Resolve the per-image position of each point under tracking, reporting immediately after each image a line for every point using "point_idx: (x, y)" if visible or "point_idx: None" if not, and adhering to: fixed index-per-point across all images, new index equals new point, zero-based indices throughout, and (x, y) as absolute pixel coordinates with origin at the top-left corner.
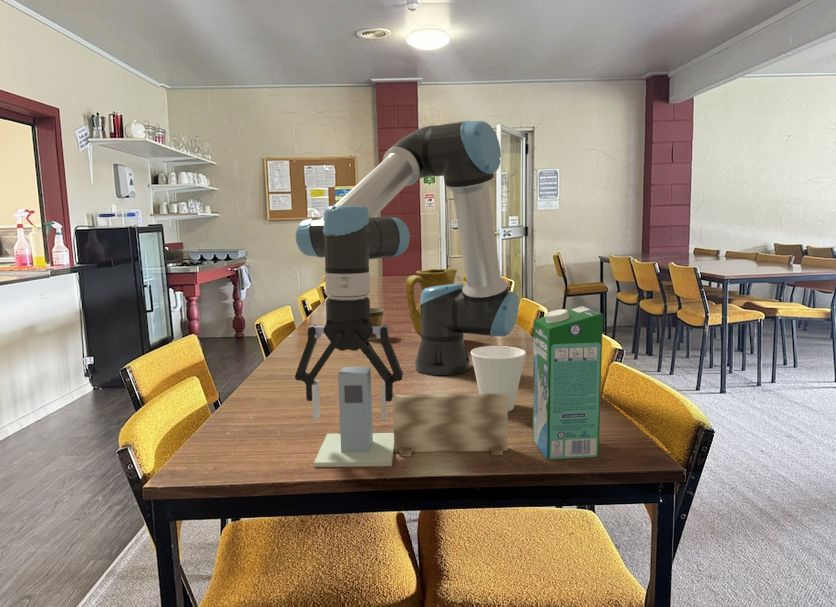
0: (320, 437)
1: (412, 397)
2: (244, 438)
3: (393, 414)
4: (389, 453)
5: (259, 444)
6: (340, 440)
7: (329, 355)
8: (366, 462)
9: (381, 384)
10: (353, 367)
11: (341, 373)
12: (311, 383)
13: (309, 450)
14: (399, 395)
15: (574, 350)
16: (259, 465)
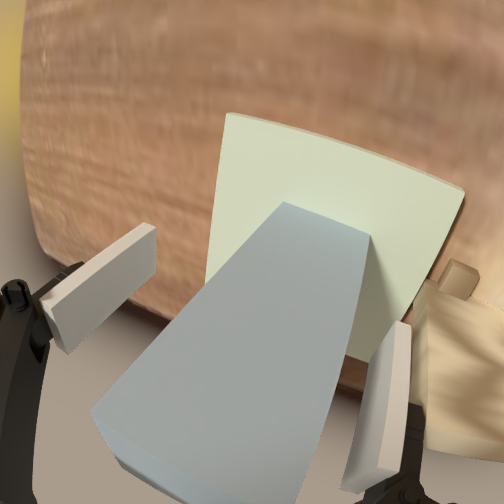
0: (213, 103)
1: (467, 456)
2: (65, 88)
3: (411, 384)
4: (385, 329)
5: (91, 126)
6: (267, 188)
7: (29, 483)
8: None
9: (346, 486)
10: (160, 465)
11: (130, 470)
12: (49, 335)
13: (190, 194)
14: (443, 435)
15: None
16: (115, 237)
